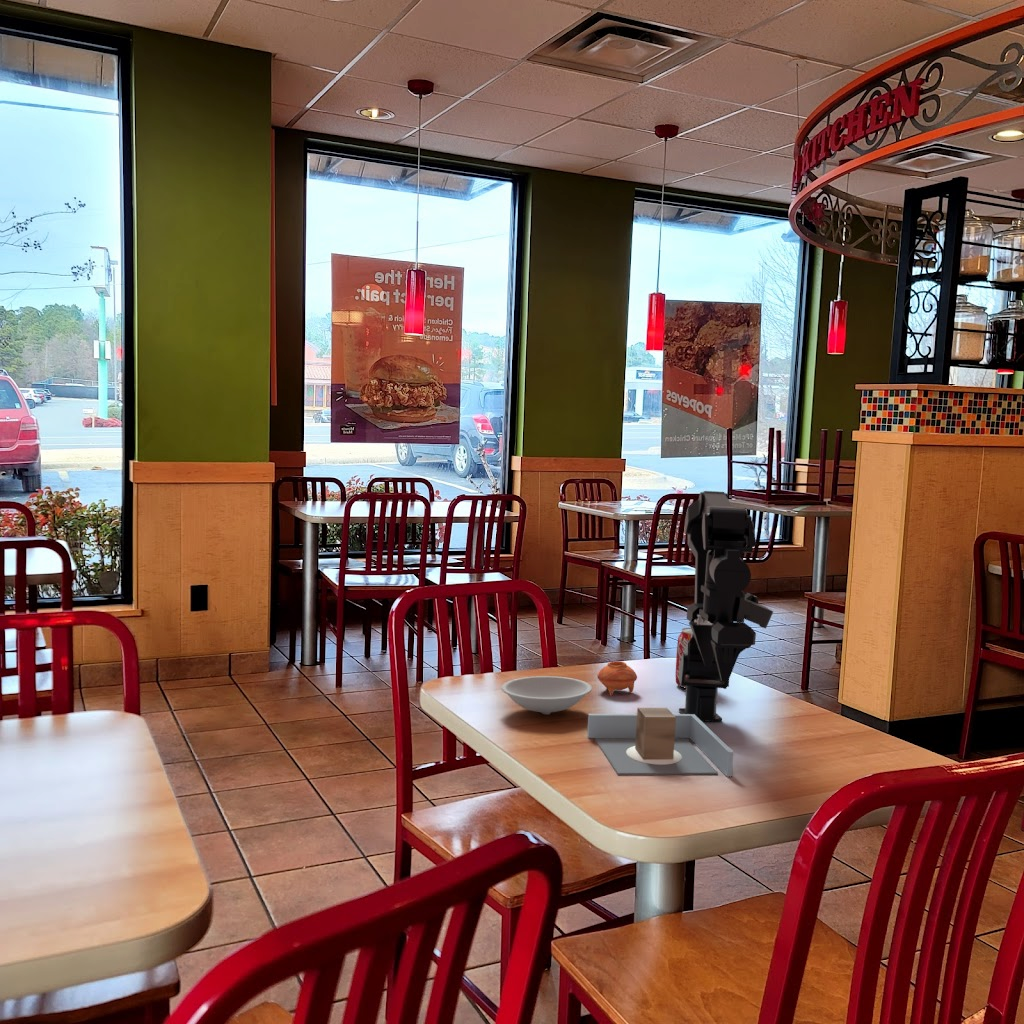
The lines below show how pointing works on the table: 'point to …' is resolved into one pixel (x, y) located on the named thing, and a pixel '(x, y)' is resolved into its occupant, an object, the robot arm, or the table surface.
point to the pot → (617, 676)
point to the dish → (546, 692)
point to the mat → (632, 763)
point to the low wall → (684, 728)
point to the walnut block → (655, 733)
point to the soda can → (682, 649)
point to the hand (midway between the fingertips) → (716, 673)
